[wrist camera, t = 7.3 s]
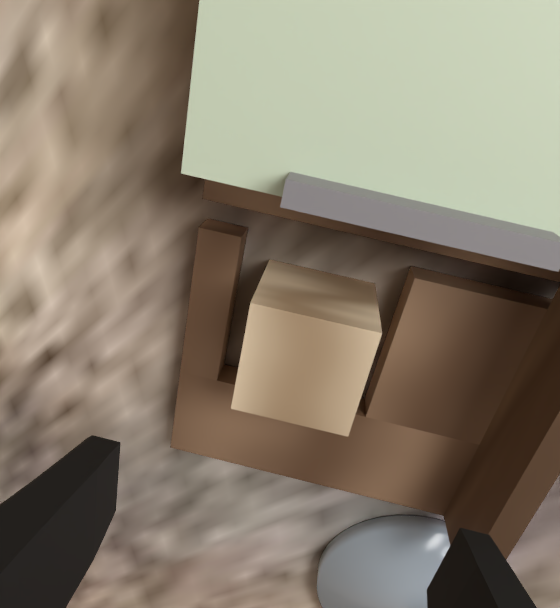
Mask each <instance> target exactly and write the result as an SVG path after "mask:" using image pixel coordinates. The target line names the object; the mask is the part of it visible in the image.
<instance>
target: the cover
mask: <svg viewBox="0 0 560 608" xmlns="http://www.w3.org/2000/svg"><path fill="white" fill-rule="evenodd" d="M181 174H186V175H190V176H194V177H199V178H203V179H207V180H211V181H216V182H220V183H224V184H229V185H233V186H237V187H242V188H246V189H250V190H255V191H259V192H263V193H268V194H272V195H276V196H280V197H282V200H281V205H280V207H281V208H286V209H290V210H294V211H298V212H303V213H307V214H311V215H316V216H320V217H324V218H329V219H333V220H337V221H341V222H346V223H350V224H354V225H359V226H363V227H367V228H372V229H376V230H380V231H384V232H389V233H393V234H397V235H402V236H406V237H410V238H415V239H419V240H423V241H427V242H432V243H436V244H440V245H445V246H449V247H453V248H458V249H462V250H466V251H471V252H475V253H479V254H483V255H488V256H492V257H496V258H501V259H505V260H509V261H514V262H518V263H522V264H526V265H531V266H535V267H539V268H544V269H548V270H552V271H557V272H558V271H559V269H560V0H199V9H198V18H197V27H196V37H195V46H194V56H193V65H192V74H191V84H190V93H189V103H188V112H187V122H186V131H185V140H184V150H183V159H182V169H181Z"/></svg>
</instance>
